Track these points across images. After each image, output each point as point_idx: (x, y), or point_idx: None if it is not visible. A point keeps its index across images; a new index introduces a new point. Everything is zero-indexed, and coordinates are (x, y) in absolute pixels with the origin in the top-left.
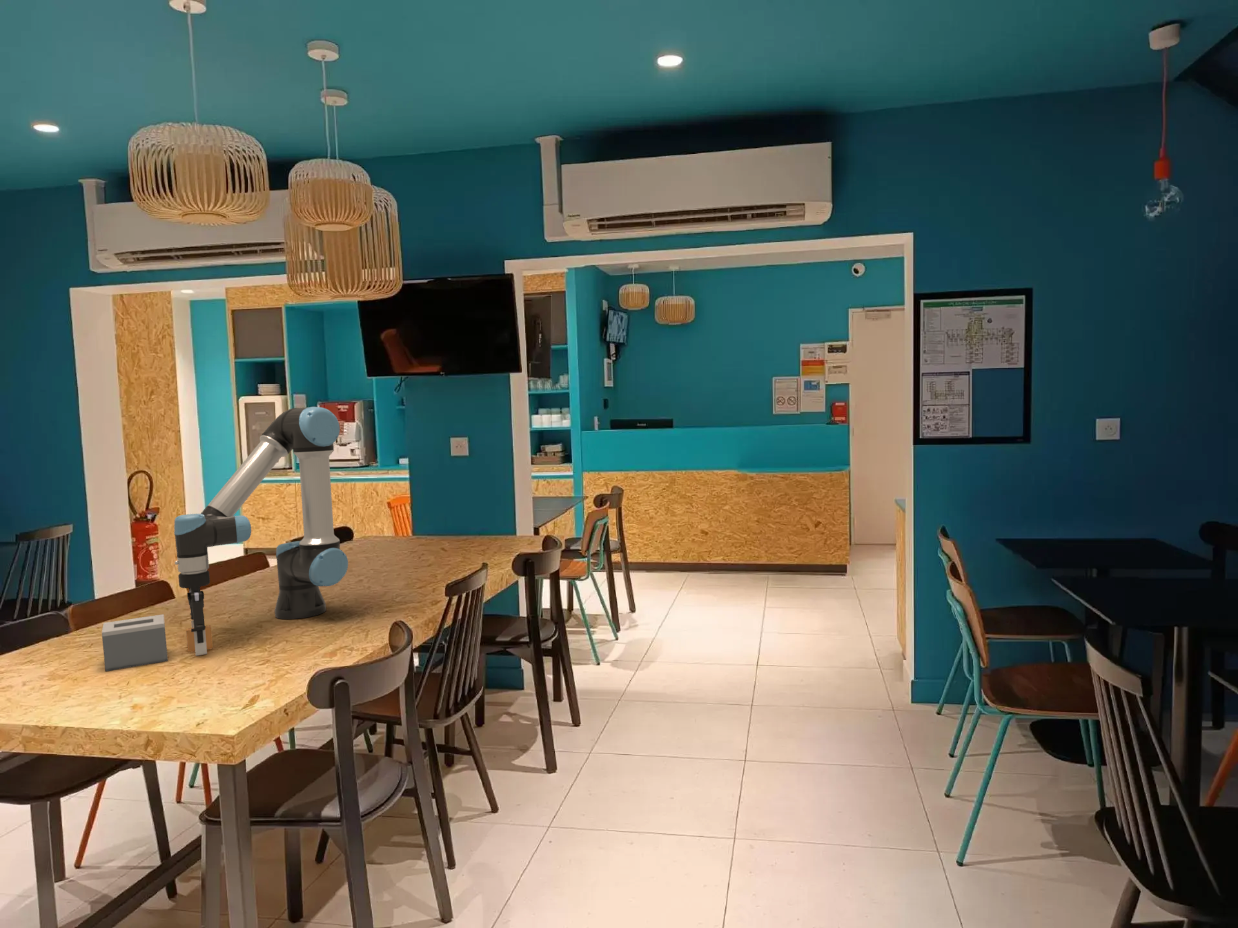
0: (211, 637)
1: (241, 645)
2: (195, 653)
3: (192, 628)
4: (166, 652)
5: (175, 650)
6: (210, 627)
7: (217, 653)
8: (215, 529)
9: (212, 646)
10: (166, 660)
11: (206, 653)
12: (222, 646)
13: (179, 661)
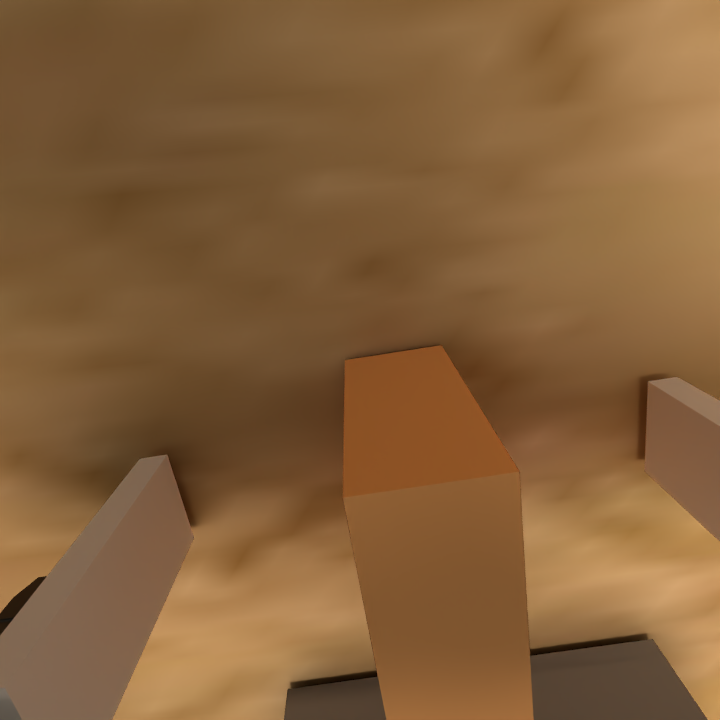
0: (470, 396)
1: (468, 17)
2: (656, 478)
3: (436, 710)
4: (700, 712)
5: (304, 631)
6: (515, 475)
7: (664, 279)
8: None
9: (446, 353)
10: (654, 650)
11: (678, 382)
12: (385, 254)
13: (705, 560)
